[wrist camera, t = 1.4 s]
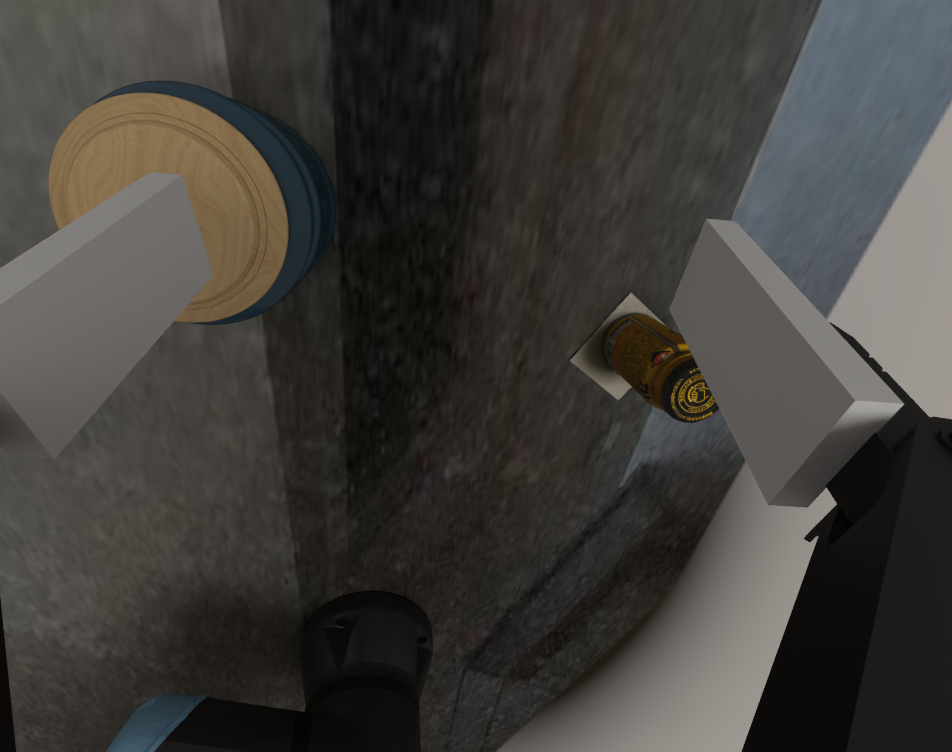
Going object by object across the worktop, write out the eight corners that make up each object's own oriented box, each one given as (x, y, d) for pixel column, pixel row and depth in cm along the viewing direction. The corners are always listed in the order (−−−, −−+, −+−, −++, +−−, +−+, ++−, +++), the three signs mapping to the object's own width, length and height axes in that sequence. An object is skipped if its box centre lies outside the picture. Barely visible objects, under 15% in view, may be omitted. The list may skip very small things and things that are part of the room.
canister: (296, 312, 42) (227, 400, 25) (138, 231, 38) (-65, 274, 21) (366, 174, 38) (337, 175, 22) (200, 68, 34) (16, -26, 18)
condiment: (677, 337, 47) (759, 386, 36) (617, 399, 49) (677, 464, 38) (629, 291, 45) (701, 330, 34) (568, 359, 47) (617, 416, 36)
